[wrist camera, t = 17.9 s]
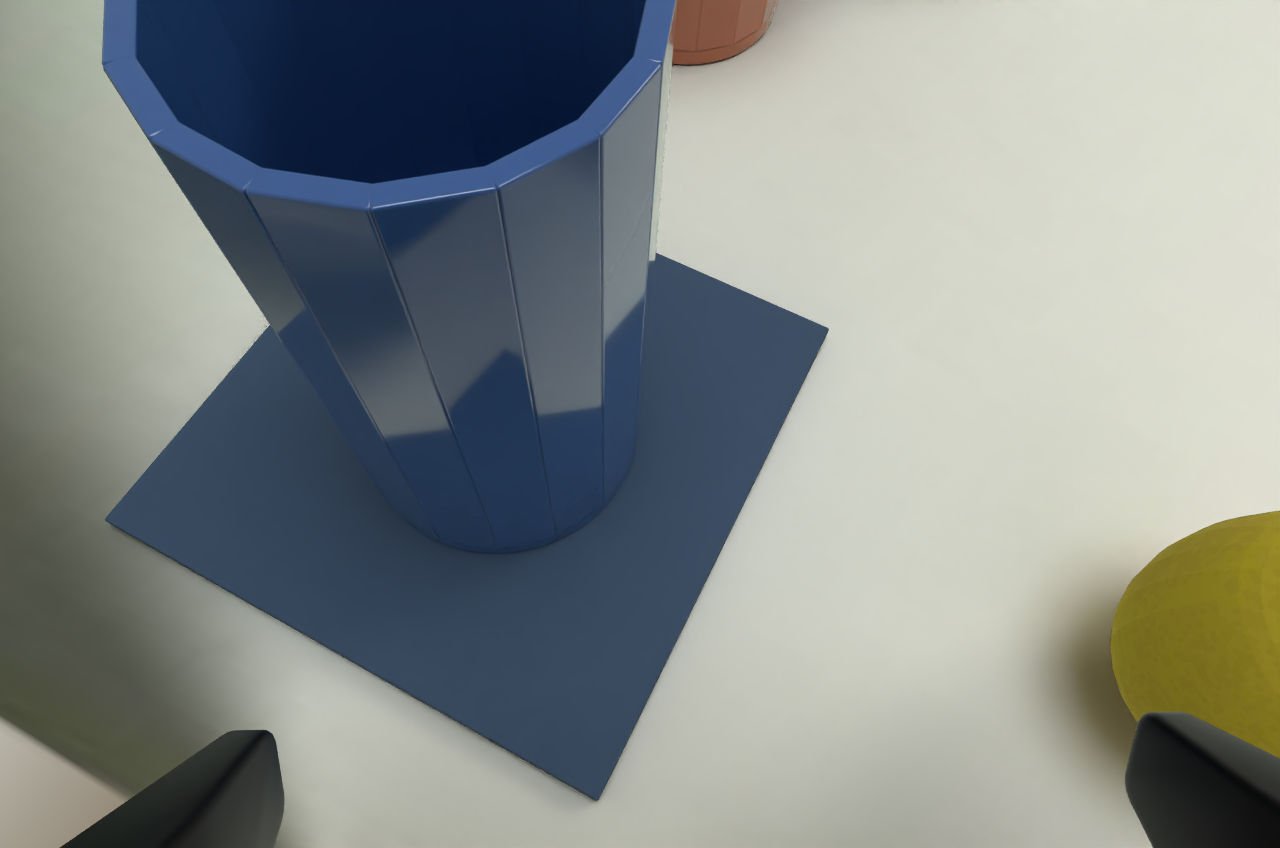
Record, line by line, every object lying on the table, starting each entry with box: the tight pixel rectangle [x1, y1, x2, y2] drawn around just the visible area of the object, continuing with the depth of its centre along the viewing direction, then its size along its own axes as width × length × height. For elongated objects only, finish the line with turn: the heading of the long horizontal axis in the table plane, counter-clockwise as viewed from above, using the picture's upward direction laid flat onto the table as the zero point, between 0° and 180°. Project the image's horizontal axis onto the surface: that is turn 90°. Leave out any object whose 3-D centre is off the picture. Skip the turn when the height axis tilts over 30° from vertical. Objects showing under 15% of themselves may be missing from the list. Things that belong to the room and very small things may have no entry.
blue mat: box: [105, 253, 829, 801], centre depth 23 cm, size 14×14×1 cm
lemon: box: [1110, 511, 1280, 758], centre depth 17 cm, size 6×6×8 cm
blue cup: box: [102, 0, 677, 553], centre depth 17 cm, size 7×7×13 cm
